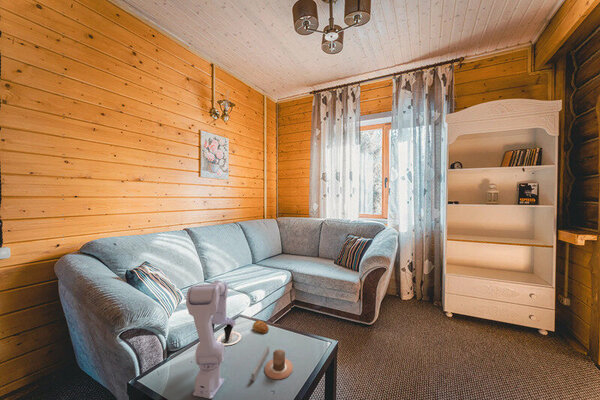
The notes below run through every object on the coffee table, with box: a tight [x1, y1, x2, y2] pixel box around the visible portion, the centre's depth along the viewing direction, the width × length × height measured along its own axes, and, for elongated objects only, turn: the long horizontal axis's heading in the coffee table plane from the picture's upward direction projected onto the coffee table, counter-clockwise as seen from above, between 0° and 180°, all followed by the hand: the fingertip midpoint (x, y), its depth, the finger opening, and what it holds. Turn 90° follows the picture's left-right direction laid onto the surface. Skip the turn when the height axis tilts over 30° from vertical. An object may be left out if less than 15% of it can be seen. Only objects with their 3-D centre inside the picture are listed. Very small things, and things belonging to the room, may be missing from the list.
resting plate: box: [264, 358, 294, 380], centre depth 105 cm, size 12×12×1 cm
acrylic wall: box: [251, 345, 270, 382], centre depth 106 cm, size 18×1×3 cm, turn 168°
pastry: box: [252, 320, 270, 334], centre depth 135 cm, size 9×7×4 cm
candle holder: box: [216, 329, 242, 346], centre depth 126 cm, size 12×12×4 cm
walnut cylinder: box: [272, 349, 286, 371], centre depth 105 cm, size 5×5×6 cm
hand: (219, 339), depth 109 cm, fingers open, 7 cm apart
